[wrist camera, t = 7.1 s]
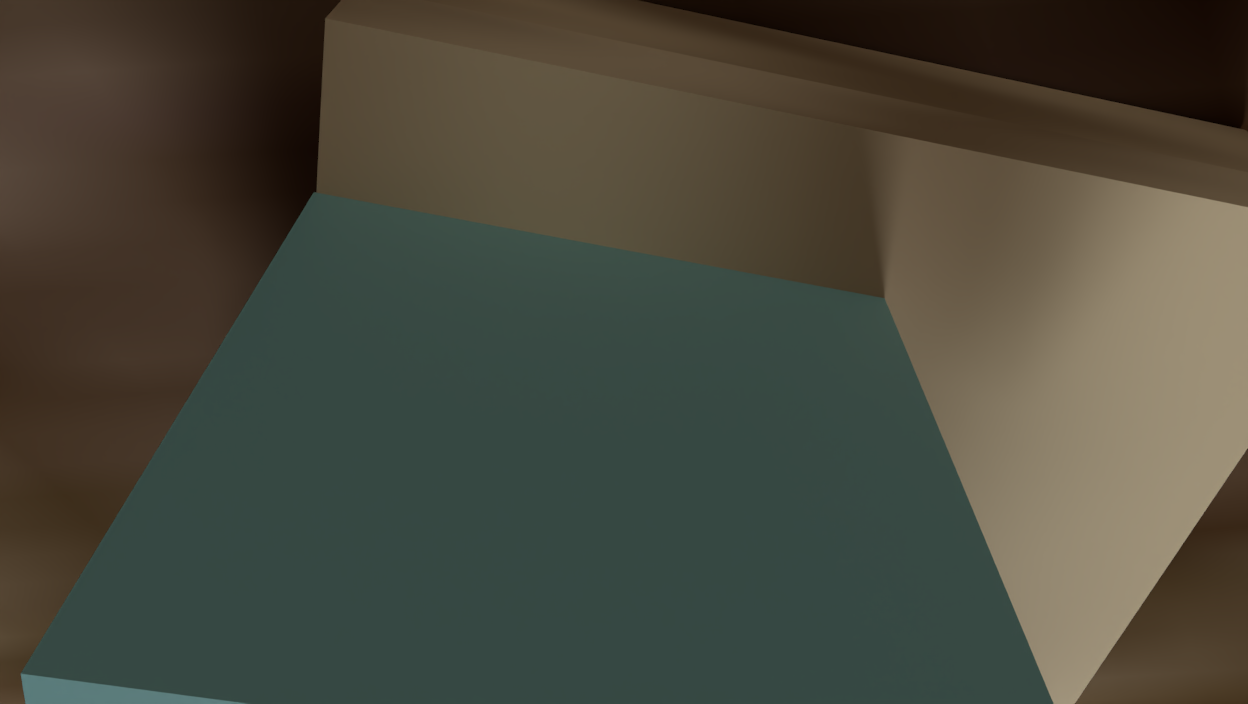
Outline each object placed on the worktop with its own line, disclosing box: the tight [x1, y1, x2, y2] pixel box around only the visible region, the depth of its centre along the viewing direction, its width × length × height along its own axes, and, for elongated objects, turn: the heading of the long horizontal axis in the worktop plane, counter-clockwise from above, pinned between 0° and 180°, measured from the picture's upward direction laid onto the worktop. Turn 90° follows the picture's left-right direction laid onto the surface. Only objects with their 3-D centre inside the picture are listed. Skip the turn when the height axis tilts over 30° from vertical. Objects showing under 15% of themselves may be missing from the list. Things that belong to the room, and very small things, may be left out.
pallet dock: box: [316, 0, 1248, 704], centre depth 14 cm, size 9×16×2 cm, turn 168°
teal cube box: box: [21, 192, 1053, 704], centre depth 8 cm, size 5×5×5 cm
